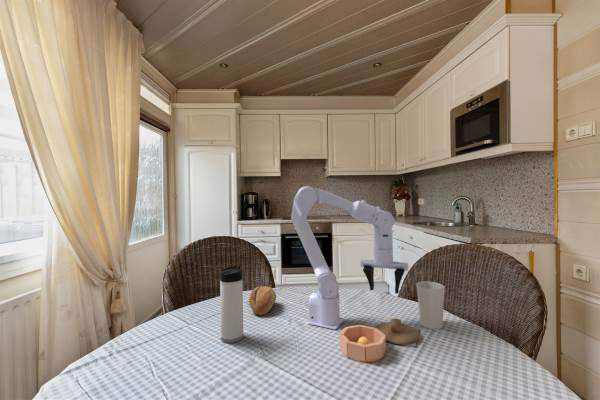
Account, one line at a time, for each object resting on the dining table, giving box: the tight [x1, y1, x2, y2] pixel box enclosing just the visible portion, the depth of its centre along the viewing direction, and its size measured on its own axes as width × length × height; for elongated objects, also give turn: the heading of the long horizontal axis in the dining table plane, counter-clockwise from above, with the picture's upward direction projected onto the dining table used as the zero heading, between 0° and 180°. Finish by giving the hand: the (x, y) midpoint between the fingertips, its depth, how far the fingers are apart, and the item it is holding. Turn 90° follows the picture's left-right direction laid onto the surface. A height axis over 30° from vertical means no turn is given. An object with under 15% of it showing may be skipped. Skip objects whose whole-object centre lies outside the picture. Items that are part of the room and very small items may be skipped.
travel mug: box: [219, 264, 244, 344], centre depth 78 cm, size 6×7×20 cm
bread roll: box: [248, 285, 277, 316], centre depth 99 cm, size 10×15×8 cm, turn 179°
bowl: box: [338, 324, 387, 363], centre depth 70 cm, size 11×11×4 cm
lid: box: [374, 318, 420, 345], centre depth 78 cm, size 12×12×4 cm
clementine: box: [358, 337, 370, 345], centre depth 69 cm, size 3×3×3 cm
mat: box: [380, 321, 420, 348], centre depth 78 cm, size 11×11×1 cm
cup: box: [415, 281, 446, 330], centre depth 84 cm, size 8×8×12 cm
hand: (384, 291), depth 86 cm, fingers open, 7 cm apart
